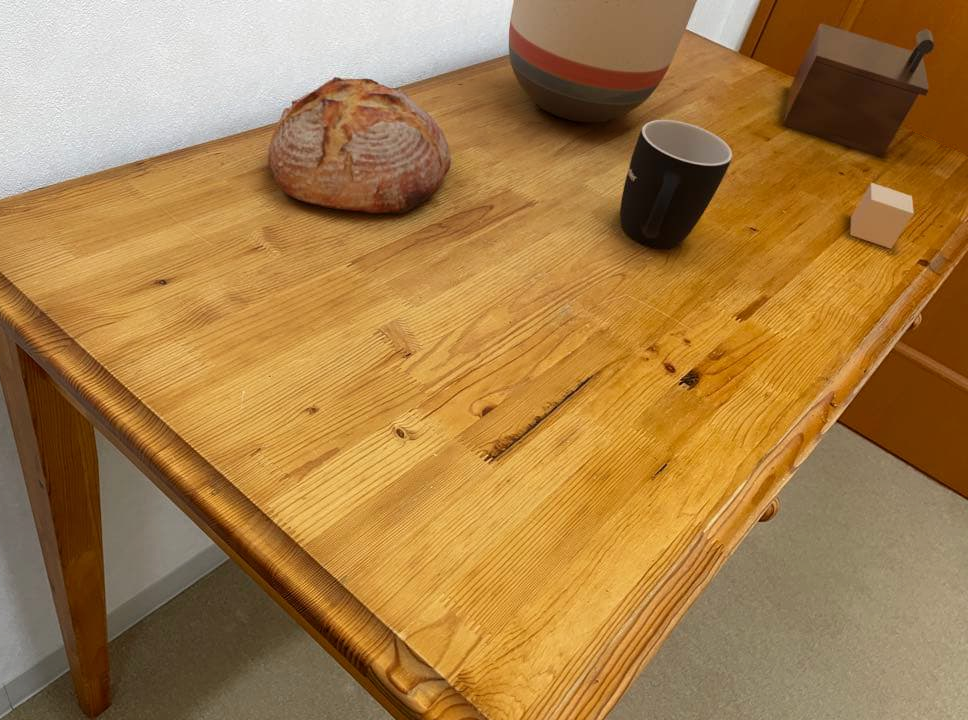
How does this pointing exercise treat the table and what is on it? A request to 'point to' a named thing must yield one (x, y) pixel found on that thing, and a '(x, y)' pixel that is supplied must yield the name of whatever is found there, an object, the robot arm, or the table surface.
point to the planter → (594, 52)
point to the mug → (671, 181)
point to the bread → (358, 148)
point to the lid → (875, 57)
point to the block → (881, 215)
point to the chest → (845, 106)
